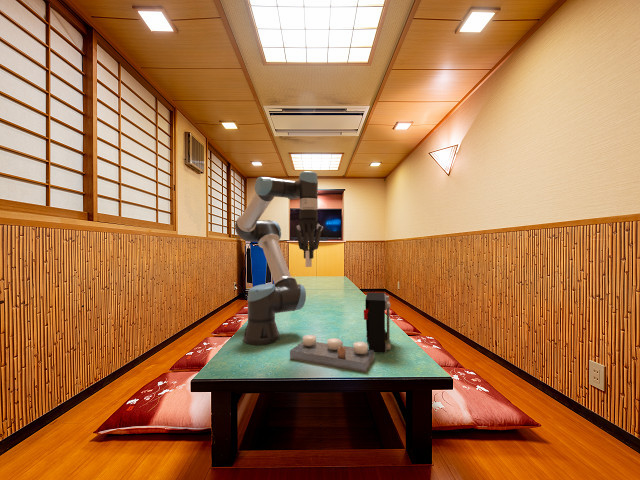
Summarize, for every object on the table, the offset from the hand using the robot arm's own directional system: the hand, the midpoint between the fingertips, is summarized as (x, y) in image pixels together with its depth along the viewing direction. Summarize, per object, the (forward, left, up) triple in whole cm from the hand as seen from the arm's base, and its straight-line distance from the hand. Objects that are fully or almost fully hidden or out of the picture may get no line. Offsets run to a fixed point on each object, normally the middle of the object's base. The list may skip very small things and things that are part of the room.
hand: (308, 266), depth 119 cm
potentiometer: (+19, -14, -29) cm, 38 cm away
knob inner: (+4, -8, -32) cm, 33 cm away
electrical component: (+26, +11, -33) cm, 43 cm away
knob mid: (+14, -8, -32) cm, 36 cm away
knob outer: (+24, -8, -32) cm, 41 cm away
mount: (+14, -10, -32) cm, 36 cm away
